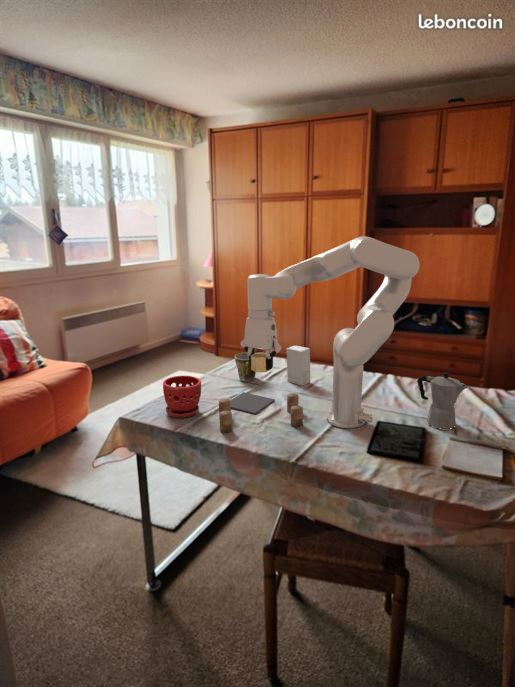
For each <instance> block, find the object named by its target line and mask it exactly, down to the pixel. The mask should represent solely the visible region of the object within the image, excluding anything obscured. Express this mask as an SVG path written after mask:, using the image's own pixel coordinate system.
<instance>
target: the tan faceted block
mask: <svg viewBox="0 0 515 687" xmlns="http://www.w3.org/2000/svg"><path fill="white" fill-rule="evenodd" d="M266 359H267V355H266V352H255V353H254V354H252V355H251V370H253V371H254V372H256V373H267V372H269V371H270V370H271V369H270V370H268V371H267V370H266ZM271 371H272V370H271Z"/></svg>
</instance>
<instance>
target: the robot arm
mask: <svg viewBox="0 0 515 687" xmlns="http://www.w3.org/2000/svg"><path fill="white" fill-rule="evenodd" d="M420 265H421V264H420V260H419V258H418V256H417V255H416V254H415V253H414V252H413V251H410V250H407V249H404V248H400V247H398V246H396V245H392V244H389V243H385V242H383V241H382V240H378V239H376V238H373V237H370V236H358V237H355V238H353V239H351V240H349V241H346V242H344V243H341V244H340V245H337V246H336V247H333V248H331V249H329V250H327V251H323V252H322V253H319V254H317V255H314V256H313V257H311V258H308V259H306V260H304V261H301V262H298V263H297V264H296V263H295V264H293V265H291V266H289V267H287V268H284V269H283V270H280V271H279V272H277V273H276V274H274V276H271V275H269V274H265V273H264V274H263V273H256V274H250V275H248V277H247V312H248V313H247V315H248V317H246V321H245V326H244V337H243V339H242V340H241V341H240V344H239V345H240V346H241V347H242V349H243V350H244V351H245V353H247V355H248V356H249V364H250V368H251V355H252V354H254V353H256V350H262V351H263V350H264V351H265V352H264V353H266V355H267V359H266V370H267V372H269V371H270V369H273V368H274V357H275V356H276V355H277V354H278V353H279V352H280V351H282V350H283V348H282V346H281V344H280V343H279V342H278V330H277V323H276V320H275V316H276V312H275V311H273V306H272V305H273V299H276V300H288V299H291V298H292V297H294V296H295V294H296V292H297V289H300V288H302V287H304V286H307V285H309V284H312V283H315V282H316V283H317V282H325V281H331V280H333V279H336V278H339V277H340V276H341V277H342V275H344V274H347V273H349V272H351V271H353V270H356V269H359V268H360V267H362V268H365V269H367V270H369V271H372V272H376V273H379V274H381V275H384V278H383V281H382V283H381V284H380V286H379V287H378V289H377V290H376V291H375V293H373V295H372V296H371V298H370V299H369V300H368V301H367V302H366V303H365V304H364V305H363V306H362V308H361V309H359V312H358V313H357V315H356V321H357V326H355V328H351V327H346V328H342V329H341V330H339V331H338V332H336V335H335V336H334V339H333V344H332V345H333V346H332V348H333V349H332V350H333V351H332V354H333V374H332V377H333V378H332V399H331V400H332V402H331V403H332V404H331V411H330V412H328V413H327V415H326V421H327V422H328V423H330V424H331V425H332V426H335V427H337V428H342V429H357V428H359V427H362V426H363V425H364V424H365V423H373V421H374V416H372V414H371V413H367V412H364V407H362V396H363V380H364V379H363V378H364V364H366V363H367V362H369V360H370V359H371V358H372V357H373V356H374V355H375V354H376V353H377V351H378V350H379V349H380V348H381V347H382V345H384V343H385V342H386V341H387V340H388V339H389V338H390V336H391V335H392V333H393V331H394V328H395V319H394V317H393V316H394V315H395V313H396V312H397V311H398V309H399V308H400V307H401V305H402V304H403V303H404V301H405V300H406V299H407V297H408V295H409V294H410V290H411V286H412V280H413V279H412V278H414V277H415V276H416V275H417V274H418V273H419V271H420V270H419V269H420ZM273 348H274V349H273ZM268 370H269V371H268ZM356 427H357V428H356Z"/></svg>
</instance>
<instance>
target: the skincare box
mask: <svg viewBox="0 0 515 687" xmlns="http://www.w3.org/2000/svg"><path fill="white" fill-rule="evenodd" d="M285 350H286V373H287V382H288V383H292V384H295V385H298V386H302V387H303V386H306V385H307V384H310V383H311V353H310V352H311V349H310V348H309V347H304V346H300V345H292V346H289V347H286V349H285Z"/></svg>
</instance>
